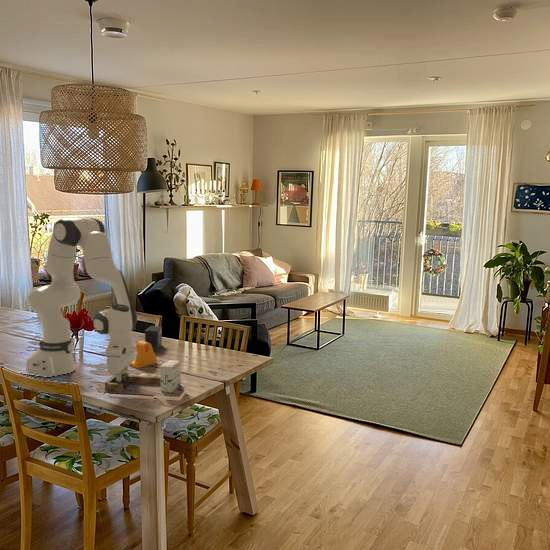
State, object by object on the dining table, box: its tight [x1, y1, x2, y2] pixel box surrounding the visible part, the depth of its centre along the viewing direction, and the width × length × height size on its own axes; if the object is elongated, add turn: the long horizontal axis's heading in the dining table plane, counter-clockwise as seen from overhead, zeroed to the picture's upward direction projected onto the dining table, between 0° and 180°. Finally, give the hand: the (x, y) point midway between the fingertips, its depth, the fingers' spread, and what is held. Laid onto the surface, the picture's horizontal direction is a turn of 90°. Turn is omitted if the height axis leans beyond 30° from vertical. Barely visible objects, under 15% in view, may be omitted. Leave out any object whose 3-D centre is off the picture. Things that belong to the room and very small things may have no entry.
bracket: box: [128, 340, 158, 369], centre depth 249 cm, size 11×7×12 cm, turn 140°
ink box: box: [159, 359, 181, 393], centre depth 220 cm, size 9×5×12 cm, turn 163°
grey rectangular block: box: [115, 369, 130, 387], centre depth 221 cm, size 4×4×6 cm
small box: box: [144, 325, 163, 352], centre depth 278 cm, size 11×6×10 cm, turn 178°
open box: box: [103, 374, 161, 397], centre depth 221 cm, size 20×11×4 cm, turn 85°
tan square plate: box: [137, 372, 157, 377], centre depth 234 cm, size 7×7×1 cm
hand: (121, 378), depth 221 cm, fingers closed on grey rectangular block, 4 cm apart
